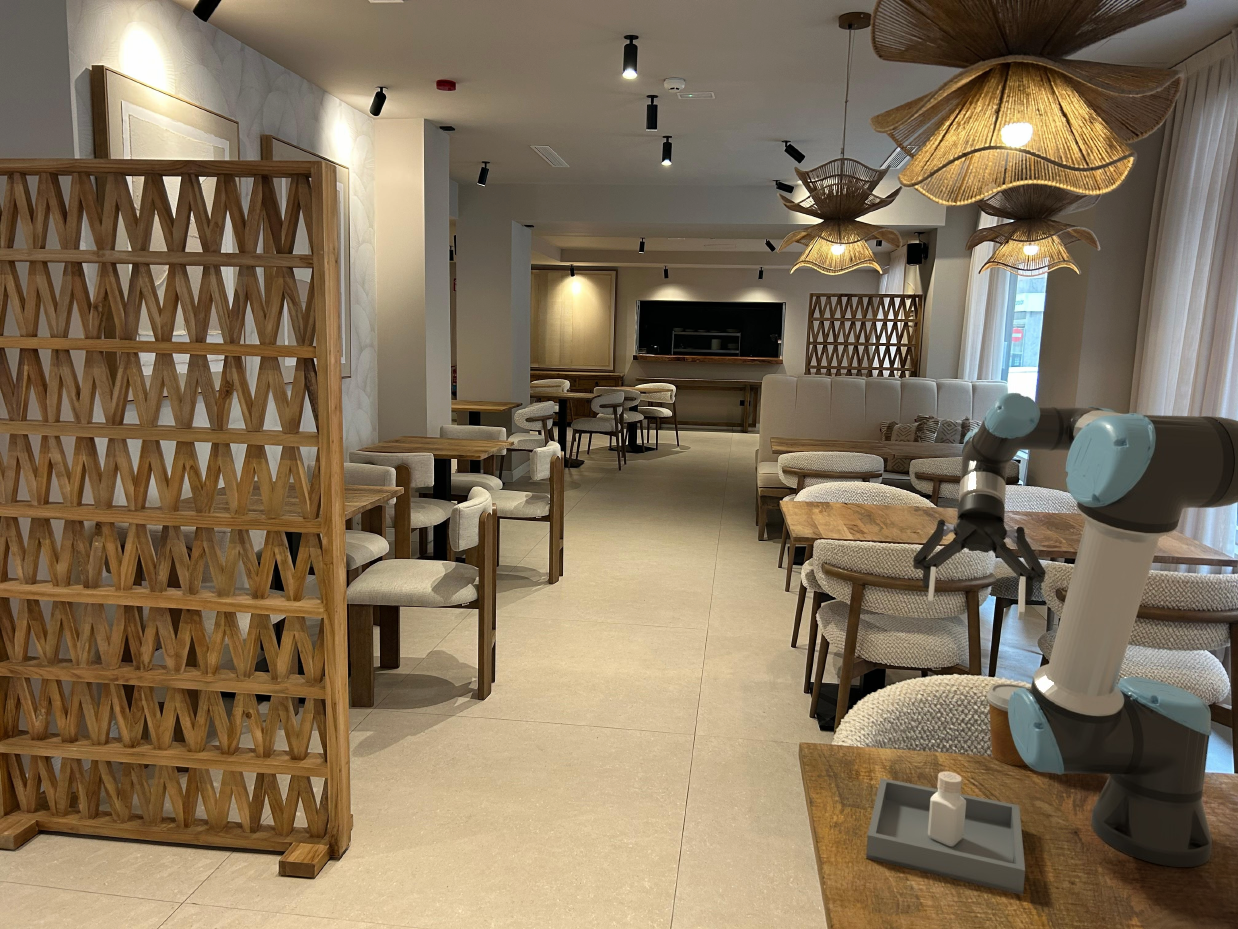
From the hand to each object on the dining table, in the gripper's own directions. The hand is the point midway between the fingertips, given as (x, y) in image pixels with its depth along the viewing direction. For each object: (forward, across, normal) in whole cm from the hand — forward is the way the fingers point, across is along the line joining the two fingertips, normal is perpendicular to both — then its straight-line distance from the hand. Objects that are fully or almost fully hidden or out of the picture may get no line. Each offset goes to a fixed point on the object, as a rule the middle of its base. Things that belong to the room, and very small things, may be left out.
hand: (974, 610), depth 139 cm
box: (+35, +2, -7) cm, 36 cm away
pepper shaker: (+35, +2, -7) cm, 35 cm away
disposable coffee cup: (+11, -8, -31) cm, 34 cm away
